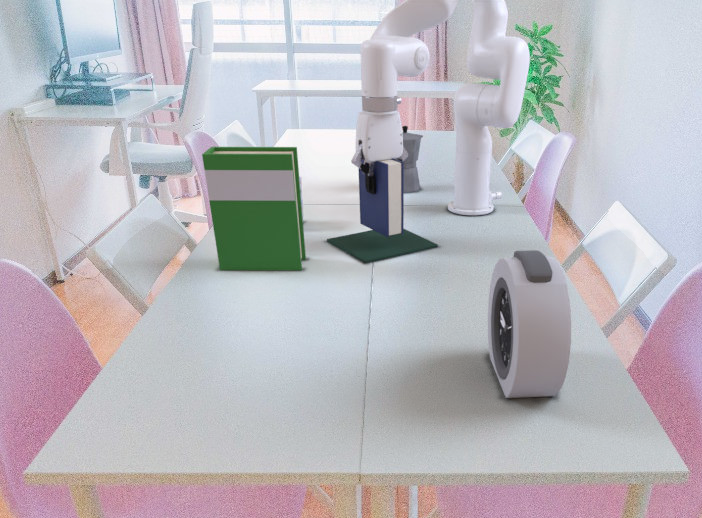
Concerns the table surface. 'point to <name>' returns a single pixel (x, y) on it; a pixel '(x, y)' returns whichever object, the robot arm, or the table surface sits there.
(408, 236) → the desk pad
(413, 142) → the coffeepot
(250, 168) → the hardback book
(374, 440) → the table surface
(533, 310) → the alarm clock
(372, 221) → the navy book
